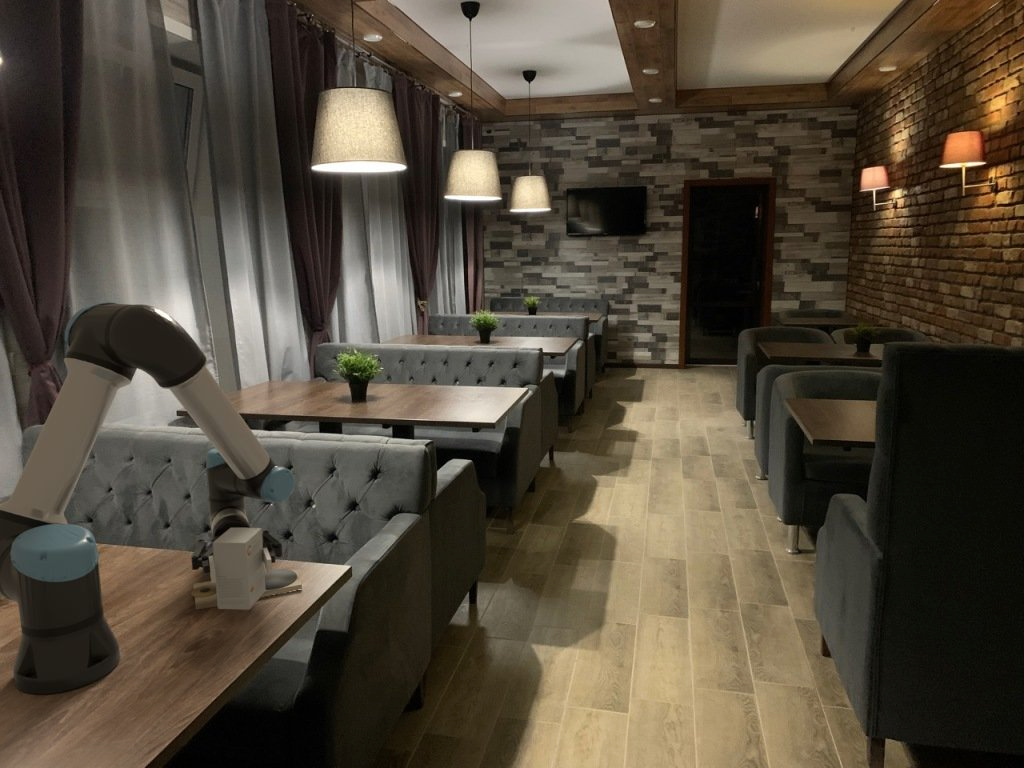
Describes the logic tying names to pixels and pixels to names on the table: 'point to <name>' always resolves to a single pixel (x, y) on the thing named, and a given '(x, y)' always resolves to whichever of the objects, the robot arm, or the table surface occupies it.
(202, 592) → the board
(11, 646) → the table surface
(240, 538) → the small box
